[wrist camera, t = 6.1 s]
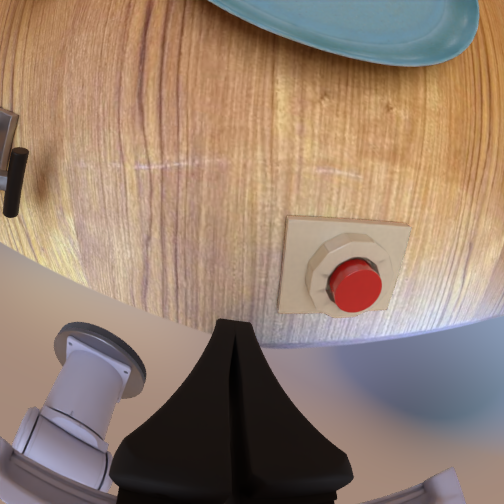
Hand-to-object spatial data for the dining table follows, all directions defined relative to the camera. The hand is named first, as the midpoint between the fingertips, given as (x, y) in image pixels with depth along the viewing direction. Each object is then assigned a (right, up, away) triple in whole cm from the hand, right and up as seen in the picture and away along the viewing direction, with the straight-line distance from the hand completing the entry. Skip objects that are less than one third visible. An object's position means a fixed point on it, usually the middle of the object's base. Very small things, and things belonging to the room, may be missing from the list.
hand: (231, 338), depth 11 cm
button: (+8, +1, +8) cm, 12 cm away
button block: (+8, +2, +10) cm, 13 cm away
